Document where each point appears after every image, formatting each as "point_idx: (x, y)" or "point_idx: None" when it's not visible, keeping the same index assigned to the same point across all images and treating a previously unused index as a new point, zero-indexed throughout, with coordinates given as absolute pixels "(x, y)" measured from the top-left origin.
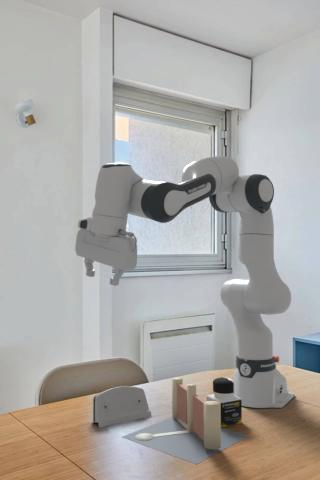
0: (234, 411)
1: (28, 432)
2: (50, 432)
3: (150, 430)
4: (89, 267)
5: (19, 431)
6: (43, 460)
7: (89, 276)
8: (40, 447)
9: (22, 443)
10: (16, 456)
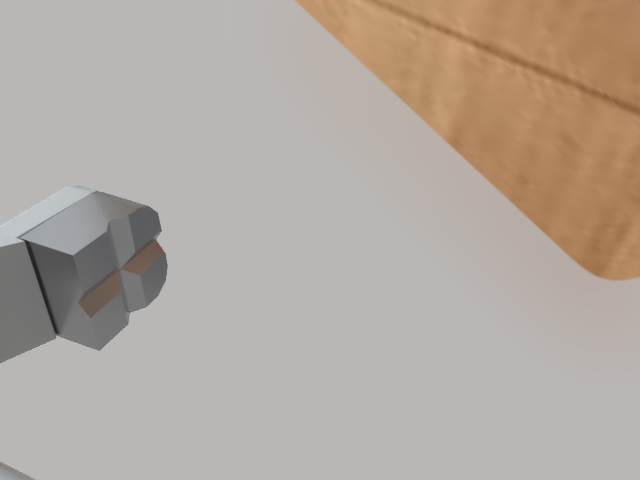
0: None
1: (435, 45)
2: (493, 3)
3: None
4: (9, 323)
5: (408, 54)
6: (635, 184)
7: (161, 279)
8: (556, 115)
9: (486, 118)
10: (541, 192)
